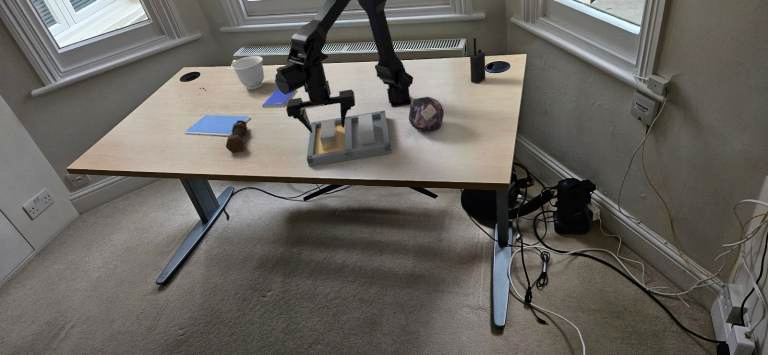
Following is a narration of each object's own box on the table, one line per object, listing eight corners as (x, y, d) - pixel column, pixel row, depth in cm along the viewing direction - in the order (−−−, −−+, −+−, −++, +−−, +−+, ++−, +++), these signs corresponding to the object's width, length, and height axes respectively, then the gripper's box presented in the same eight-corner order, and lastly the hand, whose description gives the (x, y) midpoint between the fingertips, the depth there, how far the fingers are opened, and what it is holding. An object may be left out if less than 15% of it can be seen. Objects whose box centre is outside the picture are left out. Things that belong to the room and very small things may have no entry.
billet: (337, 130, 141) (334, 119, 139) (337, 148, 133) (334, 135, 130) (324, 132, 141) (321, 121, 139) (323, 150, 133) (320, 138, 130)
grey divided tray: (385, 117, 145) (383, 103, 143) (391, 153, 128) (388, 137, 125) (313, 129, 146) (309, 115, 143) (308, 166, 129) (304, 151, 126)
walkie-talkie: (478, 77, 160) (477, 33, 151) (486, 79, 157) (486, 35, 149) (469, 82, 157) (467, 38, 149) (477, 84, 155) (476, 40, 146)
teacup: (251, 77, 190) (243, 53, 184) (276, 82, 182) (269, 57, 176) (228, 89, 183) (219, 65, 177) (253, 95, 175) (245, 70, 169)
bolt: (247, 133, 155) (241, 155, 142) (231, 129, 153) (224, 151, 141) (251, 118, 152) (245, 139, 139) (235, 113, 150) (228, 135, 138)
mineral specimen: (403, 133, 132) (403, 97, 130) (415, 129, 142) (415, 95, 140) (437, 134, 129) (437, 98, 126) (447, 130, 138) (447, 95, 136)
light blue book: (184, 135, 157) (182, 131, 156) (206, 117, 166) (205, 113, 166) (231, 138, 150) (229, 134, 150) (252, 119, 160) (251, 115, 159)
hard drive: (283, 104, 162) (296, 88, 172) (261, 104, 164) (275, 88, 174) (284, 108, 163) (297, 92, 173) (263, 108, 165) (277, 92, 175)
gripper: (349, 62, 132) (358, 111, 141) (284, 73, 132) (297, 121, 141) (349, 78, 123) (359, 129, 132) (279, 89, 123) (294, 140, 132)
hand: (327, 129), depth 135 cm, fingers open, 9 cm apart
